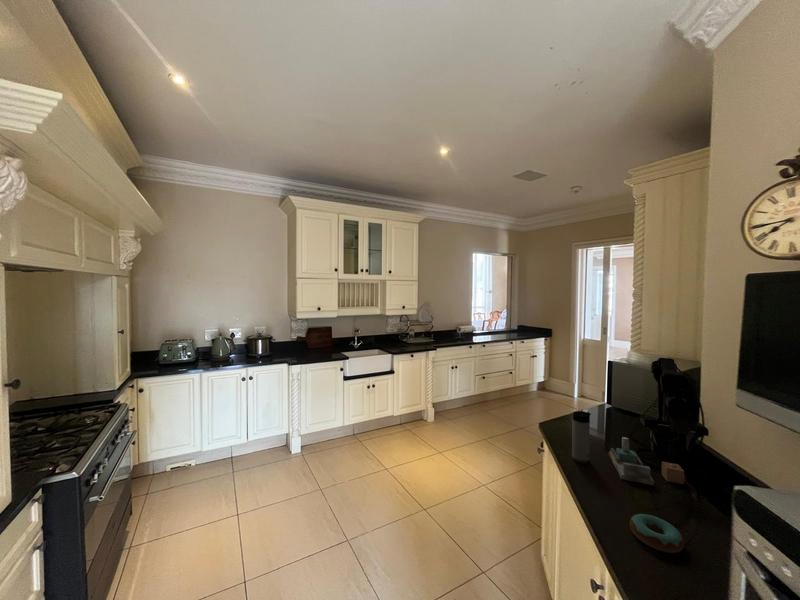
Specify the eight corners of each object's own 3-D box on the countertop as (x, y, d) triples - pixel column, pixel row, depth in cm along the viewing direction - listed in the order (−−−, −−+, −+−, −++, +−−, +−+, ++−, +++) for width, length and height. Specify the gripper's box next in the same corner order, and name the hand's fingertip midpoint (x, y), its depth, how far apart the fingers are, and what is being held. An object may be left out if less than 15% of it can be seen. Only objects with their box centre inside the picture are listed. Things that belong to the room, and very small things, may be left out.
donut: (636, 547, 84) (636, 533, 84) (624, 519, 95) (624, 506, 95) (692, 563, 80) (693, 548, 80) (673, 531, 91) (674, 518, 91)
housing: (677, 477, 118) (678, 463, 118) (683, 484, 114) (684, 470, 114) (661, 474, 120) (661, 460, 120) (666, 481, 116) (667, 467, 116)
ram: (633, 457, 129) (633, 438, 129) (637, 463, 124) (637, 444, 124) (615, 454, 132) (616, 435, 132) (619, 460, 127) (619, 441, 127)
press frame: (636, 459, 131) (636, 446, 131) (654, 485, 113) (654, 470, 113) (608, 454, 135) (609, 441, 135) (621, 478, 117) (621, 464, 116)
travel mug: (592, 464, 127) (593, 415, 126) (574, 462, 128) (575, 414, 128) (586, 456, 133) (587, 410, 133) (569, 454, 134) (570, 409, 134)
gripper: (650, 409, 113) (649, 452, 113) (717, 418, 106) (716, 463, 106) (640, 400, 123) (639, 439, 123) (701, 407, 116) (700, 449, 116)
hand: (672, 447), depth 117 cm, fingers open, 9 cm apart
